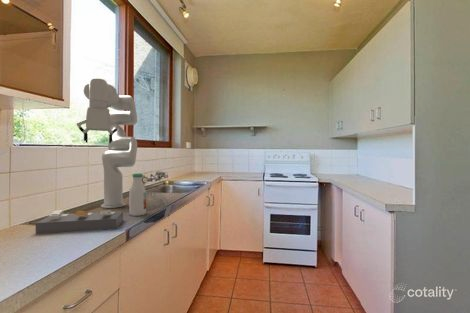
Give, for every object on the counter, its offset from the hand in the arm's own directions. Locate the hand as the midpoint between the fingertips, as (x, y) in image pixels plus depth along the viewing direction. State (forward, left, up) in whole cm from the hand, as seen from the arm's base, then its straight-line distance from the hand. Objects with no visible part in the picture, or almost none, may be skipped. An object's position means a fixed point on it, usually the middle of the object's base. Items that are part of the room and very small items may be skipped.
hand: (98, 142), depth 120 cm
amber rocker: (+15, -2, -30) cm, 34 cm away
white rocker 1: (+15, -11, -30) cm, 35 cm away
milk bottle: (-4, +17, -35) cm, 39 cm away
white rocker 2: (+15, +7, -30) cm, 34 cm away
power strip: (+13, -2, -35) cm, 37 cm away
